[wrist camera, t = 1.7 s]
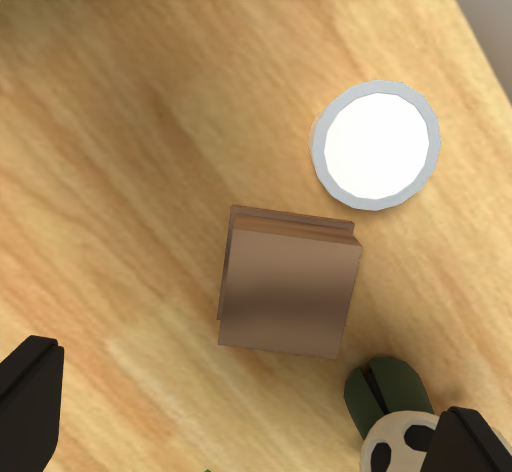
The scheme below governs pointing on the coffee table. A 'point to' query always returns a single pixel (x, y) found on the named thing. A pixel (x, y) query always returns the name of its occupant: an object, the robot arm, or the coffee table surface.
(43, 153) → the coffee table surface
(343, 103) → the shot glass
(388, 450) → the character mug
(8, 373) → the robot arm
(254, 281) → the pedestal
